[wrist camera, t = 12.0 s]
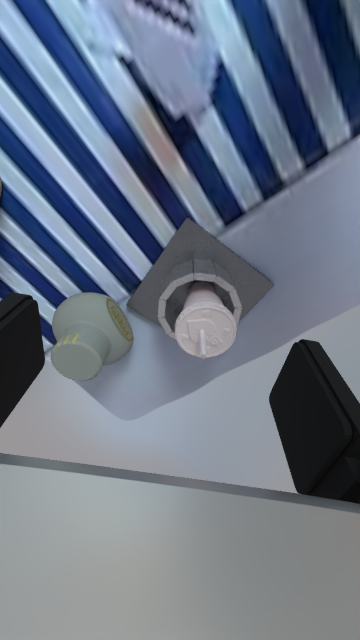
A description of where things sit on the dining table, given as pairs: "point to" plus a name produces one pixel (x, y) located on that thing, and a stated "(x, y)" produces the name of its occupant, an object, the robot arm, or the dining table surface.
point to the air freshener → (89, 335)
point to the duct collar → (196, 278)
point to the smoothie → (205, 323)
